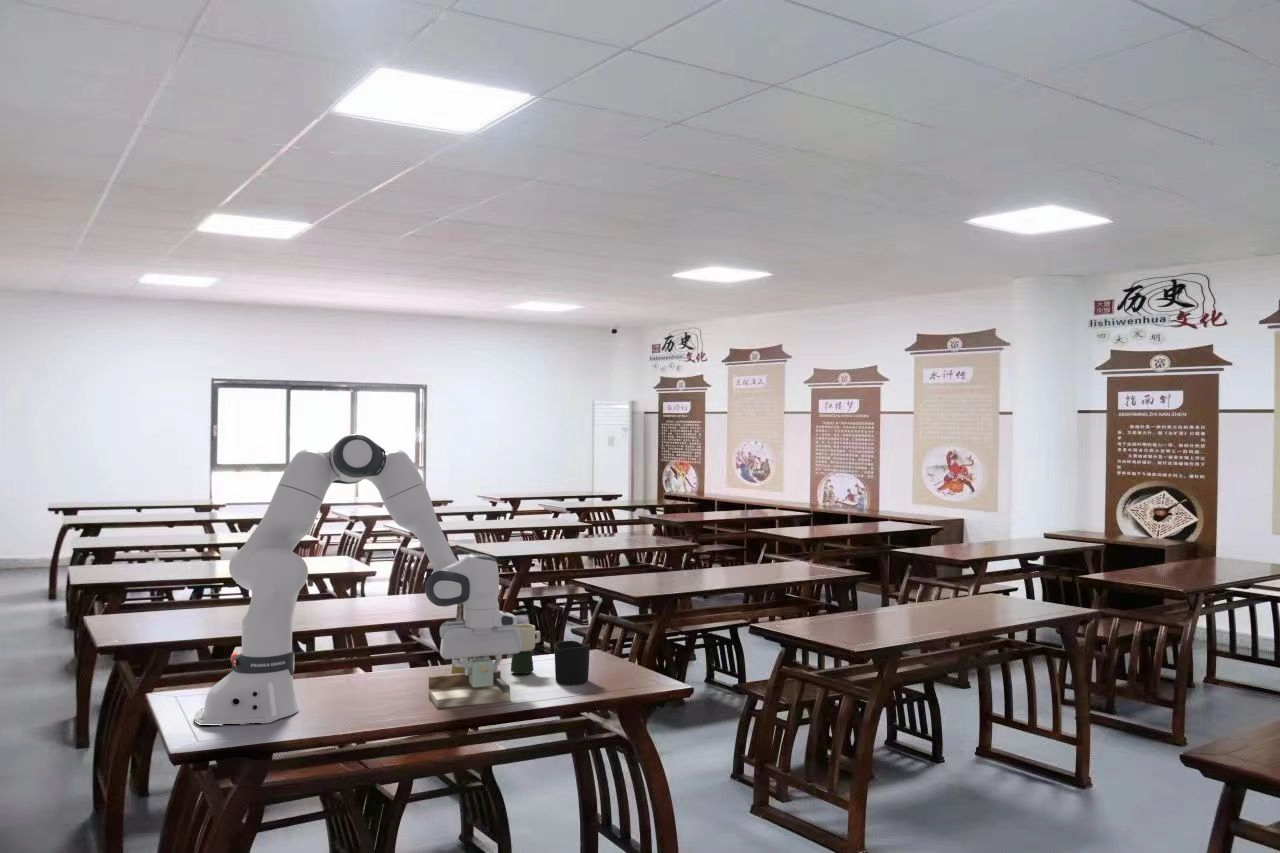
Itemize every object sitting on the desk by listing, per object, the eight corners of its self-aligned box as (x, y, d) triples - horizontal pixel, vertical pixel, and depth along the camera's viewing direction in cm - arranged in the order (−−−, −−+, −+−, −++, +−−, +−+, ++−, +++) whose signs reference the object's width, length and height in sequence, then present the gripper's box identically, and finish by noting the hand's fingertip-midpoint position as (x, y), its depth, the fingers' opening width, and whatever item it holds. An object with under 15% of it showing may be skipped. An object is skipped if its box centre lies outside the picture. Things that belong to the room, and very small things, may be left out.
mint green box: (474, 688, 238) (474, 664, 238) (469, 682, 244) (469, 658, 244) (494, 686, 240) (494, 662, 240) (488, 680, 246) (488, 657, 246)
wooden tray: (436, 708, 231) (436, 687, 232) (428, 695, 243) (428, 675, 243) (510, 700, 238) (510, 680, 238) (499, 689, 249) (499, 669, 249)
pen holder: (588, 677, 263) (588, 640, 263) (591, 685, 253) (591, 647, 254) (553, 678, 262) (553, 641, 262) (555, 686, 252) (555, 648, 252)
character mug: (534, 668, 273) (534, 622, 273) (545, 673, 267) (545, 626, 267) (498, 673, 267) (498, 625, 267) (508, 678, 261) (508, 630, 261)
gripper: (442, 623, 236) (441, 680, 236) (523, 617, 244) (523, 672, 244) (437, 619, 242) (437, 674, 242) (517, 613, 250) (517, 667, 249)
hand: (481, 673), depth 243 cm, fingers closed on mint green box, 5 cm apart
